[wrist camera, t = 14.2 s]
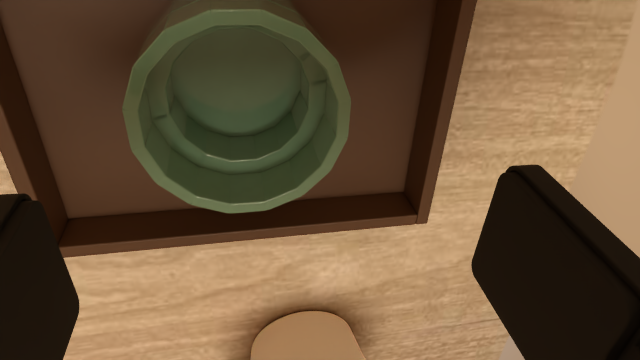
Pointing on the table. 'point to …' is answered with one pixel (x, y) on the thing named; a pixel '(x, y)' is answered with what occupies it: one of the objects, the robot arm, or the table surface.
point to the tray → (169, 210)
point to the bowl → (236, 104)
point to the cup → (307, 339)
